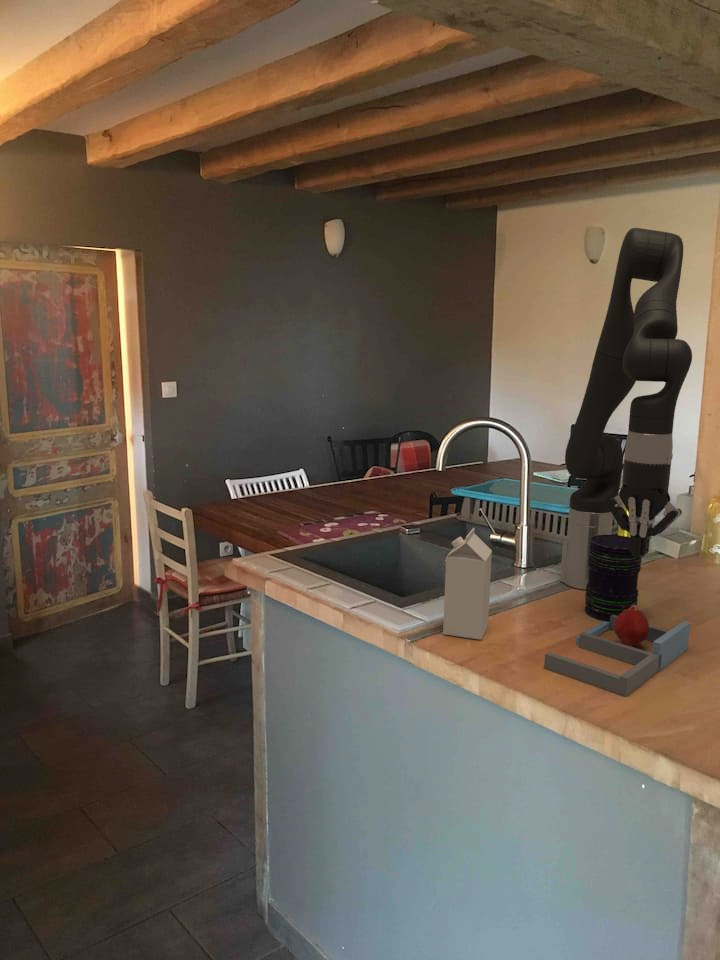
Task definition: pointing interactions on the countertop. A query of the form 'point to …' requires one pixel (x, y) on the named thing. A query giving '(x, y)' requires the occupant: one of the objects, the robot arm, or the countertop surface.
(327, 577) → the countertop surface
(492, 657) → the countertop surface
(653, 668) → the channel organiser
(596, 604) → the storage jar
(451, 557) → the milk carton
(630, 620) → the pomegranate
